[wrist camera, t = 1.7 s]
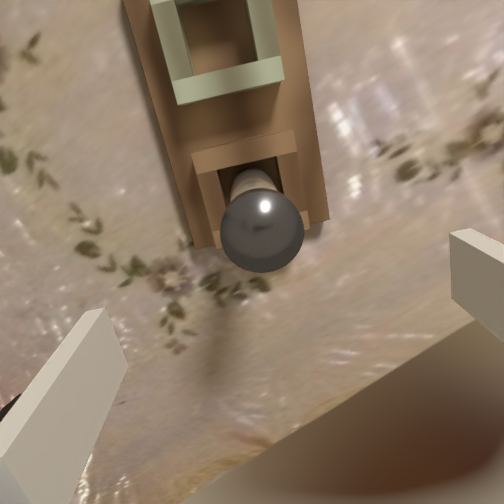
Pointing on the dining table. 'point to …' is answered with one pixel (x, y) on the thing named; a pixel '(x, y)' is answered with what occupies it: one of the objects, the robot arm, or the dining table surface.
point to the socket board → (230, 102)
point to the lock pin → (260, 223)
